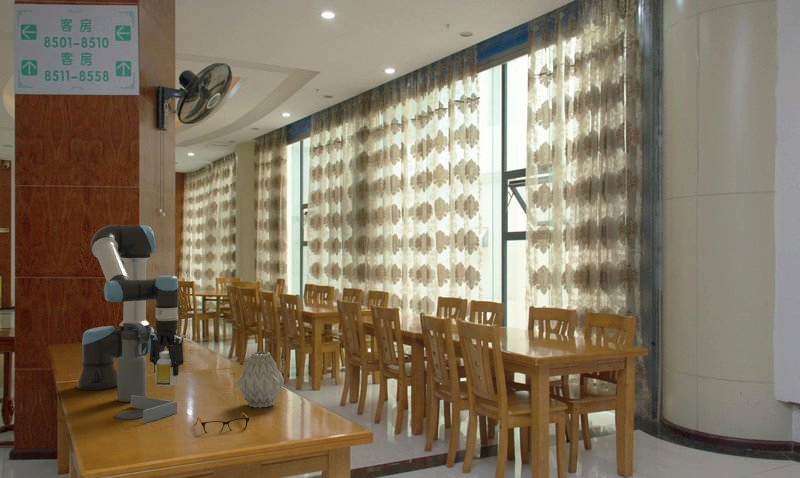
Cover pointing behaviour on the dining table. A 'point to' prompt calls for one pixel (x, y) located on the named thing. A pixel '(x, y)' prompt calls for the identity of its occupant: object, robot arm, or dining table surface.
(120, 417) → the coaster
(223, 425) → the eyeglasses
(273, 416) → the dining table surface
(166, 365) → the pill bottle
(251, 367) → the vase
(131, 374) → the water bottle
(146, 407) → the fence long
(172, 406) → the fence end
